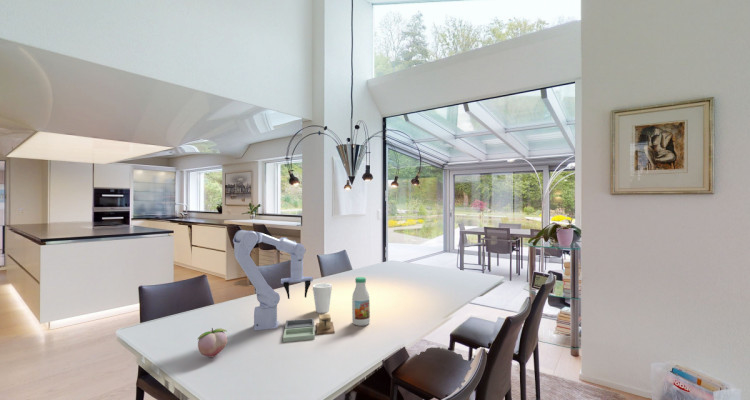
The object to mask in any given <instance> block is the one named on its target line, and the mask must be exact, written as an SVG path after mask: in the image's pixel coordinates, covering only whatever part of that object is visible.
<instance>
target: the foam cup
mask: <svg viewBox="0 0 750 400" xmlns="http://www.w3.org/2000/svg"><path fill="white" fill-rule="evenodd" d="M332 290H333V284H332V283H328V282H320V283H319V282H318V283H315V284H313V285H312V291H313V300H314V305H315V306H314V307H315V313H319V314H326V313H328V312H329V311H330V305H331V298H332V297H331V296H332Z"/></svg>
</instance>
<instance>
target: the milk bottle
mask: <svg viewBox="0 0 750 400" xmlns="http://www.w3.org/2000/svg"><path fill="white" fill-rule="evenodd" d="M366 281H367V279H366V277H365V276H364V277H363V276H359V277H358V276H357V277H356V278H355V281H354V282H355V288H354V290H353V293H352V299H351V303H352V304H351V308H352V310H351V311H352V312H351V316H352V318H351V319H352V321H351V322H352V324H353V325H354V326H357V327H359V326H360V327H362V326H363V327H364V326H368V325H369V324H370V321H371V319H370V318H371V315H370V314H371V312H370V306H371V305H370V294H369V291H368V289H367V286H366Z"/></svg>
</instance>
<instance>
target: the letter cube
mask: <svg viewBox="0 0 750 400" xmlns="http://www.w3.org/2000/svg"><path fill="white" fill-rule="evenodd" d="M318 318H319V319H318V321H319V322H318V323H319V327H320V329H330V328H331V322H332V321H331V319H332V318H331V314H330V313H327V314H326V313H323V314H319V315H318Z"/></svg>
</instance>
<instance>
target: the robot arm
mask: <svg viewBox="0 0 750 400" xmlns="http://www.w3.org/2000/svg"><path fill="white" fill-rule="evenodd" d="M232 242H233V246H234V247H233V248H234V249H233V251H234V258H235V260H236V261H237V263H238V264H239V266H240V268H241V269H242V271H243V272H244V273H245V275H246V277H247V278H248V280H249V282H250V283H251V284H252V286H253V288H254V289H255V295H256V300H257V302H259V306H255V307H254V311H253V331H259V330H260V331H261V330H271V329H278V326H279V323H280V322H279V320H278V304H279V303H280V300H281V295H280V294H279V293H278V292H277V291H276V290H274V289H273V288H272V286H270V285H269V284H268V282H267V281H266V279H265V278H264V276H263V275H262V273H261V271H260V270H259V268H258V266H257V265H256V263H255V261H254V260H253V259H252V256H250V255H251V252H252V250H253V249H254V247H255V246H256V244H260V243H263V244H268V245H272V246H274V247H275V248H276V250H277V251H281V252H284V253H288V254H289V255H290V277H284V278H281V279H280V284H281V285H283V287H284V289H285V293H286V296H287V299H288V300H290V284H291V283H293V284H294V283H304V298H307V296H308V295H307V294H308V292H309V288H310V286H311V283H312V282H314V277H313V276H304V255H305V254H306V248H305V245H304V244H303V243H301V242H300V243H299V242H296V240H290V239H288V237H280V238H277V237H274V236H271V235H269V234H265V233H263V232H258V231H254V230H245V229H240V230H237V231H236V232H235V234H234V236H233V239H232Z"/></svg>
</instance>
